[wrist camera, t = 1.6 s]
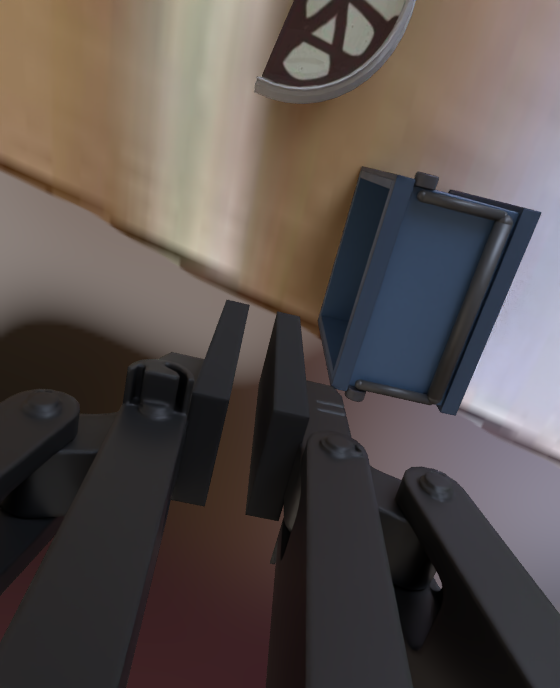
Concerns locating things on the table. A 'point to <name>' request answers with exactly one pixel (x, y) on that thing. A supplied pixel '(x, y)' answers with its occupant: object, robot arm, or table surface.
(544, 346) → the table surface
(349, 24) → the food container
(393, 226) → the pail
